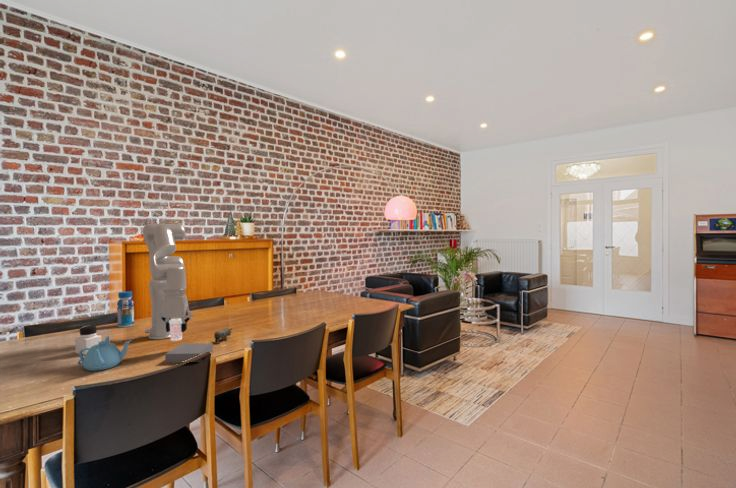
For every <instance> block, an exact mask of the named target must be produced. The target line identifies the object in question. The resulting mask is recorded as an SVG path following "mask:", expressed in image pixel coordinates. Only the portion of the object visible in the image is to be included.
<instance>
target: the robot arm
mask: <svg viewBox="0 0 736 488" xmlns="http://www.w3.org/2000/svg"><path fill="white" fill-rule="evenodd" d="M186 234H187V233H186V228H185V227H184V226H183V225H182V224H179V223H148V224H145V225H144V226H143V228H142V237H143V240H144V243H145V245H146V247H147V249H148V254H149V260H148V262H149V263H148V265H149V272H150V276H151V279H150V280H149V281H148V289H149V294H150V295H149V296H150V303H151V304H150V305H151V306H150V307H151V310H150V311H151V328H145V329H144V333H145V334H148V339H150V340H165V339H169V338H170V339H171V336H170V323H169V320H171V319H176V318H177V319H181V320H182V324H181V332H182V333H184V332H186V331H187V329H188V325H187V324H188V322H189V321H190V320H191V318H193V317H194V313H193V312H192V311H191V310H190V308H189V301H188V296H187V295H186V289H187V287H188V286H187V278H186V277H187V275H186V267H185V263H184V262H185V261H184V260H183V258H182V257H181V256H177V255H176V256H171V255H173V254H174V253H175V252H176V251H177V244H176V242H175V241H184V240H185V238H186Z"/></svg>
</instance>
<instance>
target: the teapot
mask: <svg viewBox="0 0 736 488" xmlns="http://www.w3.org/2000/svg"><path fill="white" fill-rule="evenodd" d="M132 341H133V339H130V340H127V341H125V342H124V344H123V348H122V350H120V349H119V348H118V346H117V345H116V344H114V343H113V342H110V336H109V335H107V336H106V337H105V339H104V340H102V341H101V342H98V343H99V344H97V345H94V346H92V347H91V348H84V349H82V350H81V351H80V352H79V354H78V355H79V359H80V360H78V361H77V365H78V366H79V367H80V366H82V367H83V368H84V369H85V370H87V371H90V372H91V371H92V372H96V371H97V372H98V371H103V370H108V369H111V368H114V367H117V366H118V365H119V364H120V363H121V362H122V360H123V358H124V357H125V356H126V355H127V353H128V346H129V344H130V342H132ZM84 350H88V352H87V353H86V355H82V351H84Z"/></svg>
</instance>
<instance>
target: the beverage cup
mask: <svg viewBox="0 0 736 488" xmlns="http://www.w3.org/2000/svg"><path fill="white" fill-rule="evenodd" d="M169 323H170V336H171V337H170V341H171V342H177V341H181V340H183V332H181V324H182V320H181V318H172V319H171V320H169Z"/></svg>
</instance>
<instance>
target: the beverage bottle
mask: <svg viewBox="0 0 736 488" xmlns="http://www.w3.org/2000/svg"><path fill="white" fill-rule="evenodd" d="M116 304H117V307H116V312H117V313H116V314H117V327H119V328H126V327H127V328H128V327H131V326H134V325H135V306H134V300H133V291H132V290H130V291H129V290H127V291H119V292H118V301H117V303H116Z"/></svg>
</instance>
